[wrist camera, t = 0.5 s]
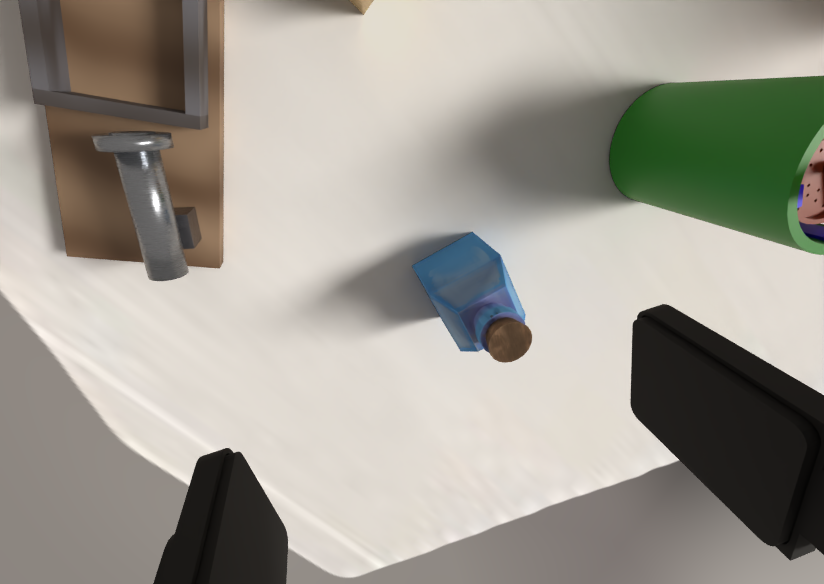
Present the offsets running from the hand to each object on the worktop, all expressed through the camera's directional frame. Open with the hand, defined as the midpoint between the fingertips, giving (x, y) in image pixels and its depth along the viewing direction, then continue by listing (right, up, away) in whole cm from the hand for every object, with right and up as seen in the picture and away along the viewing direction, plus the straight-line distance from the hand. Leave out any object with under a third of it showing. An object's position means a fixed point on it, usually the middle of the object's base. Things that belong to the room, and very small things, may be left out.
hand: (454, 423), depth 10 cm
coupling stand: (-19, +19, +17) cm, 32 cm away
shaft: (-19, +10, +21) cm, 30 cm away
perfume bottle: (+3, +5, +30) cm, 30 cm away
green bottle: (+21, +16, +28) cm, 39 cm away
